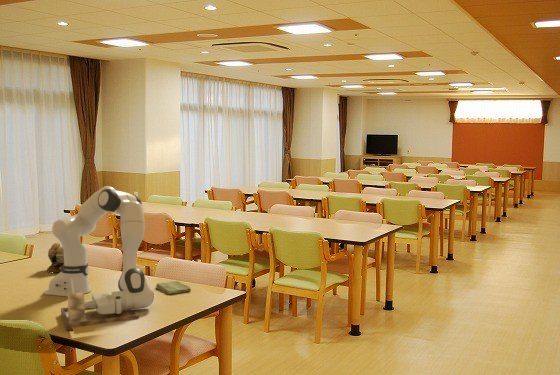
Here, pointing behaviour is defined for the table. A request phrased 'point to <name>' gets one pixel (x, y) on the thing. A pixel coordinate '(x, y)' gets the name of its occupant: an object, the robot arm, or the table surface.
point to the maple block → (76, 306)
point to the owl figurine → (56, 258)
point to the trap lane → (113, 317)
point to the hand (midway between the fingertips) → (83, 305)
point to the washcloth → (173, 287)
